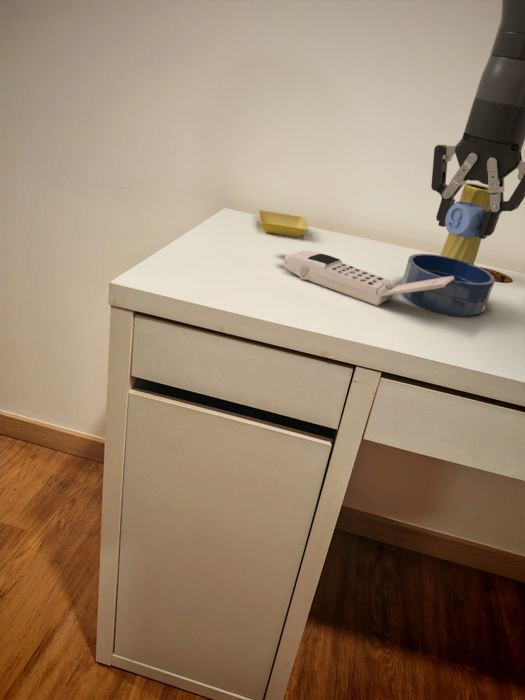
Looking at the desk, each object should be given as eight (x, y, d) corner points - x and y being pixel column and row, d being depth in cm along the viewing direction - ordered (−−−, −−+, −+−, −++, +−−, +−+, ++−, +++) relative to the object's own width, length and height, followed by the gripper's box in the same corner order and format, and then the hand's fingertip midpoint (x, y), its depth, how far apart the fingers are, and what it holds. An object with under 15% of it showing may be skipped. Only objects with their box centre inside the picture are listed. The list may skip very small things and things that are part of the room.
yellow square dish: (306, 241, 103) (308, 229, 102) (257, 233, 102) (259, 221, 101) (302, 227, 110) (304, 217, 109) (256, 220, 110) (258, 209, 109)
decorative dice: (481, 238, 81) (491, 209, 79) (464, 238, 79) (474, 209, 77) (458, 229, 84) (467, 201, 82) (441, 229, 81) (450, 201, 80)
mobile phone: (445, 285, 73) (276, 228, 83) (430, 328, 75) (268, 267, 86) (457, 276, 77) (296, 223, 88) (443, 317, 80) (288, 261, 90)
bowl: (492, 305, 88) (503, 274, 86) (469, 325, 78) (481, 291, 76) (416, 279, 93) (425, 249, 91) (386, 295, 84) (395, 262, 82)
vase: (431, 261, 105) (456, 180, 98) (463, 265, 106) (489, 185, 99) (444, 272, 99) (471, 188, 93) (477, 277, 100) (506, 193, 94)
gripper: (441, 88, 74) (404, 220, 81) (559, 111, 68) (507, 251, 75) (459, 92, 80) (423, 214, 87) (569, 113, 73) (520, 243, 81)
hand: (462, 231), depth 81 cm, fingers closed on decorative dice, 5 cm apart
